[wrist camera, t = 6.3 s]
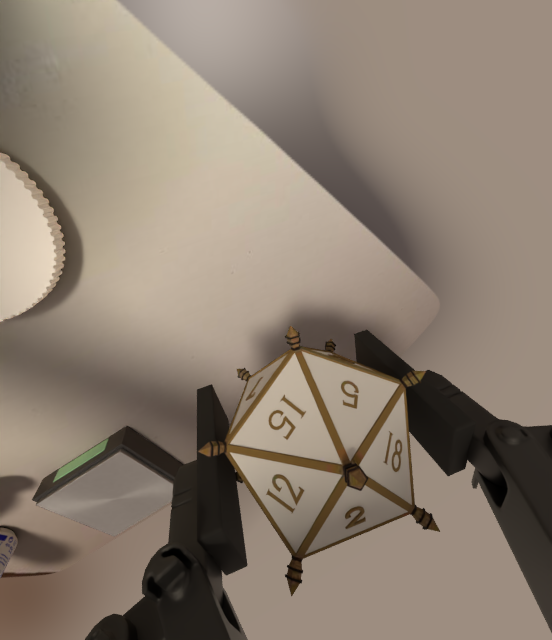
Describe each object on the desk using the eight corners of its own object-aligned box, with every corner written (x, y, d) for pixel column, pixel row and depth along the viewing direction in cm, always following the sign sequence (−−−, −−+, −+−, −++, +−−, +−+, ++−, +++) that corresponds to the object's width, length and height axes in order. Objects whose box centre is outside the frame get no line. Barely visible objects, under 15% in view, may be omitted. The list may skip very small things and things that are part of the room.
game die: (302, 335, 18) (459, 430, 13) (225, 442, 17) (371, 592, 12) (254, 252, 11) (584, 405, 6) (104, 437, 9) (379, 857, 4)
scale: (42, 478, 31) (30, 499, 29) (126, 425, 31) (121, 443, 29) (120, 514, 37) (115, 534, 35) (191, 470, 37) (190, 487, 35)
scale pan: (37, 499, 29) (34, 505, 29) (121, 447, 29) (120, 451, 29) (115, 531, 35) (114, 537, 35) (186, 488, 35) (186, 492, 34)
